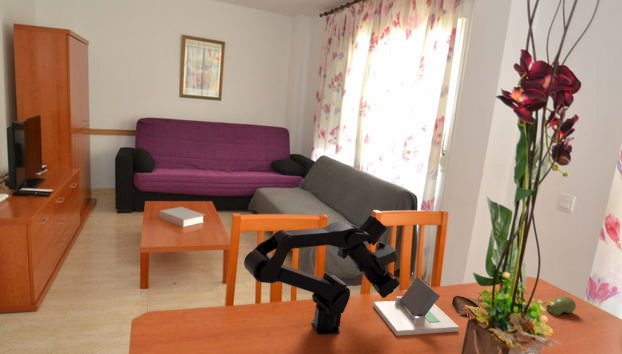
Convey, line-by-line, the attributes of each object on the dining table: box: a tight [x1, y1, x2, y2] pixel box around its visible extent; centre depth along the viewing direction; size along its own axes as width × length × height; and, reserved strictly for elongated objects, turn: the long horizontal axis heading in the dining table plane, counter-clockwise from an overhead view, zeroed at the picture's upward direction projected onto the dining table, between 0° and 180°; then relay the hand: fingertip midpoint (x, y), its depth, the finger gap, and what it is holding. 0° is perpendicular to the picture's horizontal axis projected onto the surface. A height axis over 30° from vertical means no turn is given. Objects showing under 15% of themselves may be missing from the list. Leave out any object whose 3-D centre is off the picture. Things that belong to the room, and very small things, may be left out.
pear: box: [546, 296, 577, 316], centre depth 139 cm, size 6×5×10 cm
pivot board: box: [372, 295, 460, 337], centre depth 125 cm, size 20×16×4 cm
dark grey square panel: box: [400, 276, 441, 318], centre depth 124 cm, size 2×10×10 cm
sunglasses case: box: [451, 295, 480, 318], centre depth 133 cm, size 18×7×7 cm, turn 84°
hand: (391, 292), depth 121 cm, fingers closed
